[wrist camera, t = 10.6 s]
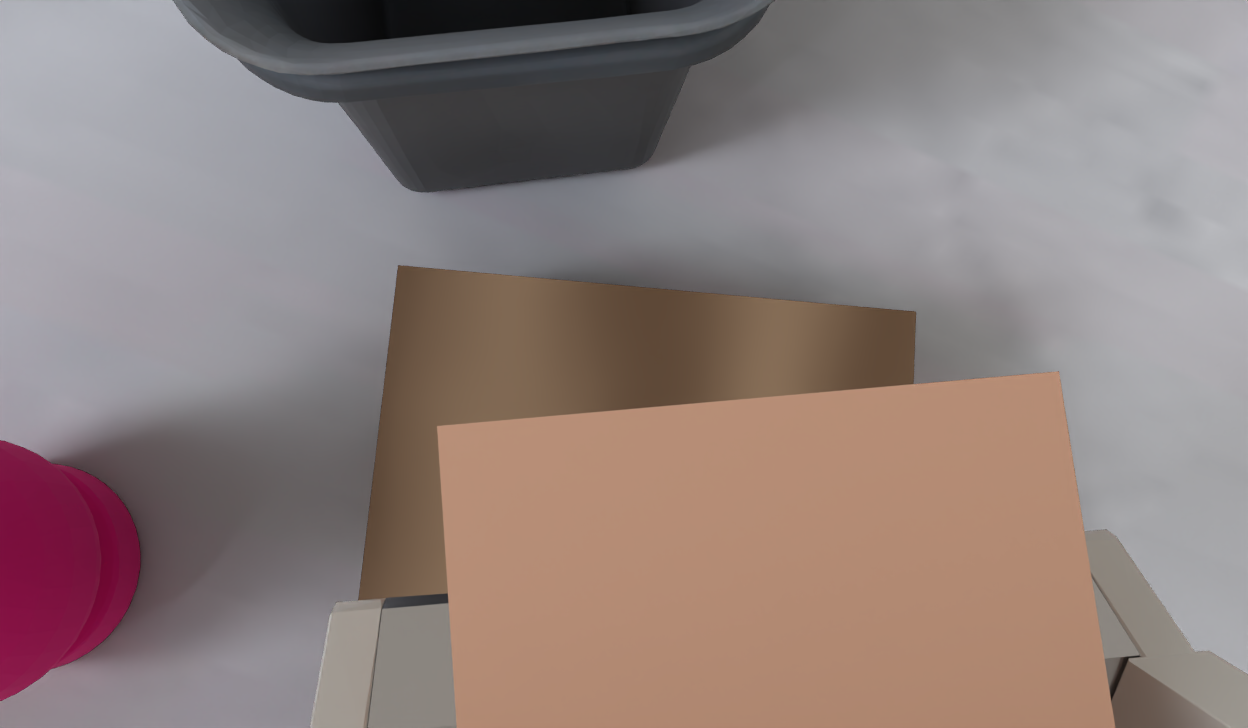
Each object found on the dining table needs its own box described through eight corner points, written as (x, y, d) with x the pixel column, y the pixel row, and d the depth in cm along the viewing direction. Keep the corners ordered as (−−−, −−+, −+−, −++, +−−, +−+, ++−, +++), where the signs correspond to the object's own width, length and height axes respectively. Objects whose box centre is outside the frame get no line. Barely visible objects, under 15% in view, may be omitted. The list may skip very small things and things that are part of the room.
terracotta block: (532, 821, 15) (484, 1127, 7) (506, 472, 15) (436, 425, 8) (873, 783, 15) (1164, 1041, 7) (832, 443, 16) (1059, 372, 8)
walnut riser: (378, 762, 31) (332, 819, 25) (430, 311, 33) (397, 265, 27) (835, 795, 31) (896, 859, 25) (855, 348, 33) (916, 311, 28)
